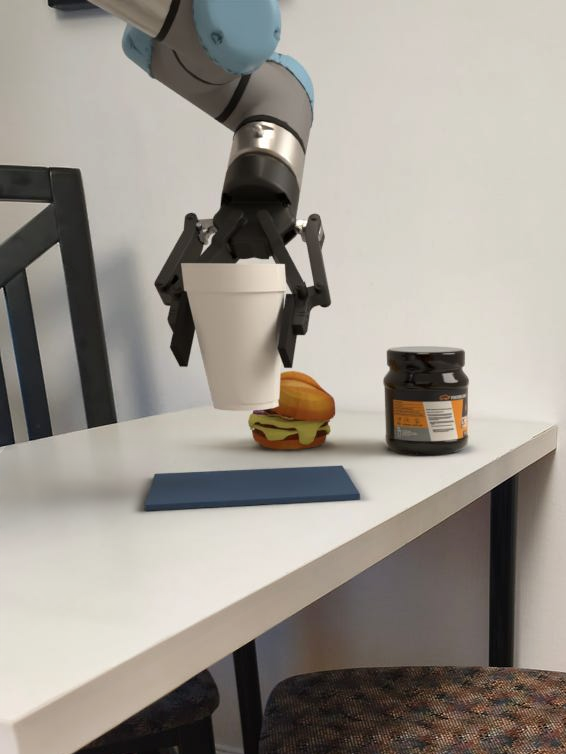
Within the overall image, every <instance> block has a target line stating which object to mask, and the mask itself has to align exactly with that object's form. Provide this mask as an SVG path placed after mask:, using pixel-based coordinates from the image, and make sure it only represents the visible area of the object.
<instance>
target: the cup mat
mask: <svg viewBox="0 0 566 754" xmlns="http://www.w3.org/2000/svg"><path fill="white" fill-rule="evenodd" d="M153 475H154V476H153V478H152V481H151V484H150V487H149V491H148V494H147V497H146V500H145V503H144V510H145V511H146V512H150V511H167V510H168V511H169V510H186V509H187V510H188V509H189V510H190V509H204V508H205V509H206V508H223V507H226V508H227V507H245V506H260V505H261V506H262V505H263V506H264V505H279V504H281V505H282V504H300V503H317V502H318V503H319V502H335V501H355V500H356V501H357V500H360V499H361V493H360V492H359V489H358V488H357V487H356V485H355V484H354V482H353V480H352V479H351V477H350V476H349V473H348V472H347V471H346V468H345V467H344V466H343V465H341V464H340V465H321V466H319V465H318V466H299V467H297V466H295V467H276V468H274V467H273V468H254V469H253V468H252V469H231V470H209V471H190V472H189V471H185V472H165V473H154V474H153Z"/></svg>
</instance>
